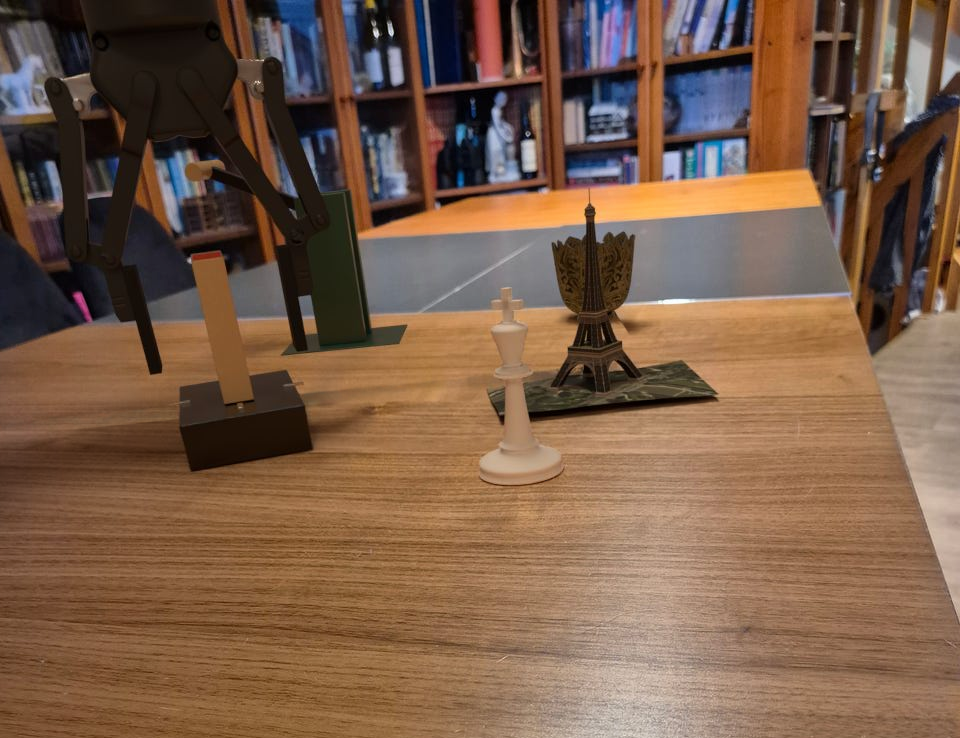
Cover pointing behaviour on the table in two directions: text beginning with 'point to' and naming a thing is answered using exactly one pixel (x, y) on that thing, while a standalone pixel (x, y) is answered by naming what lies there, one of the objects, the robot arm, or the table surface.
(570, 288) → the cup
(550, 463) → the chess piece
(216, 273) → the tan standing plaque
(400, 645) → the table surface
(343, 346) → the bracket
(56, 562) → the table surface
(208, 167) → the lever
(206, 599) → the table surface
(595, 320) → the eiffel tower figurine
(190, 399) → the base
